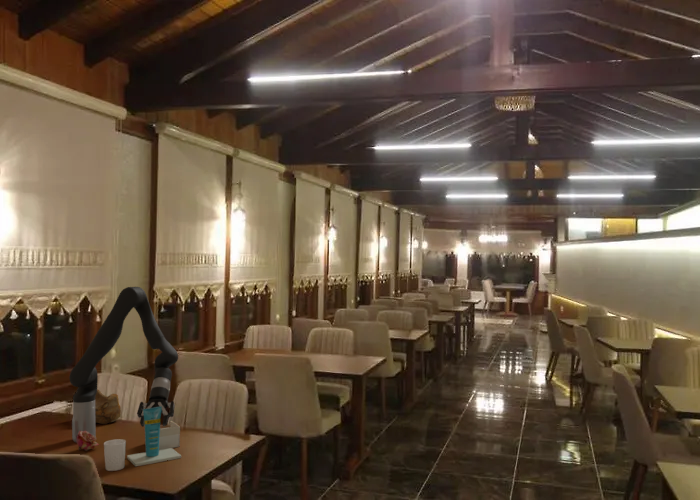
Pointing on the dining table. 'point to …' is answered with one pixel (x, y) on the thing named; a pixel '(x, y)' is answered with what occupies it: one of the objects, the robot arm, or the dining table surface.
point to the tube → (152, 430)
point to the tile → (163, 456)
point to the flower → (86, 440)
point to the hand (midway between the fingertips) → (153, 425)
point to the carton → (169, 436)
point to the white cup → (114, 454)
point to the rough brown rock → (106, 408)
